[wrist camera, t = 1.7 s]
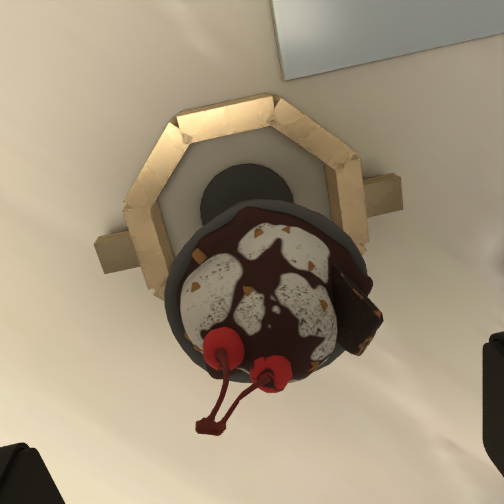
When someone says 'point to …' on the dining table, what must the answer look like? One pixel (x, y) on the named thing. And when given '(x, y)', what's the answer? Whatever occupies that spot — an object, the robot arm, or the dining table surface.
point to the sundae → (266, 288)
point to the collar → (225, 123)
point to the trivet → (373, 30)
